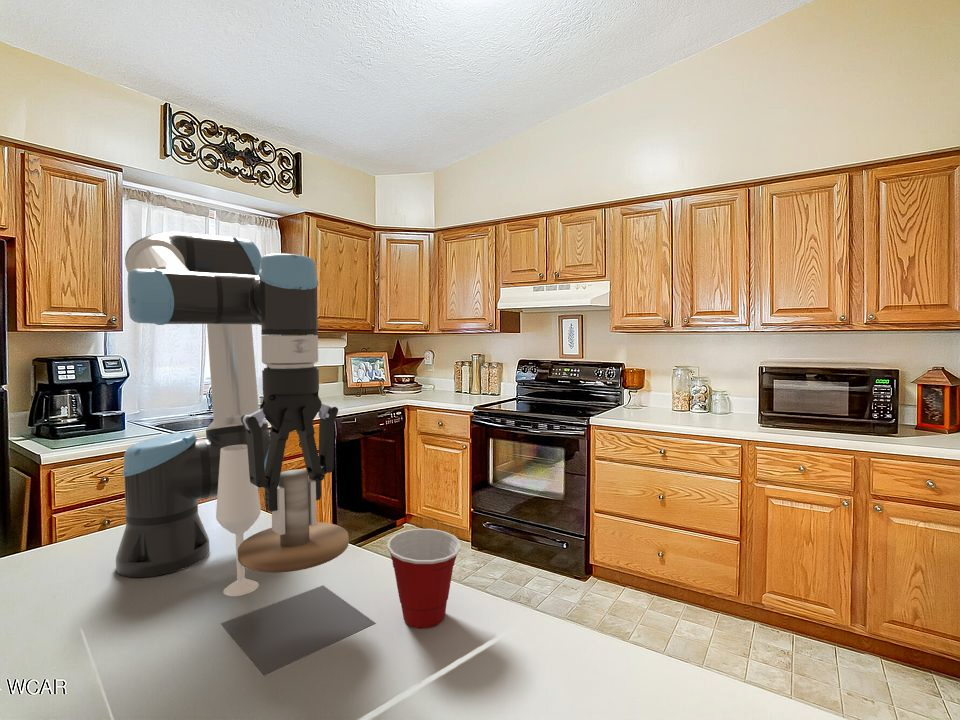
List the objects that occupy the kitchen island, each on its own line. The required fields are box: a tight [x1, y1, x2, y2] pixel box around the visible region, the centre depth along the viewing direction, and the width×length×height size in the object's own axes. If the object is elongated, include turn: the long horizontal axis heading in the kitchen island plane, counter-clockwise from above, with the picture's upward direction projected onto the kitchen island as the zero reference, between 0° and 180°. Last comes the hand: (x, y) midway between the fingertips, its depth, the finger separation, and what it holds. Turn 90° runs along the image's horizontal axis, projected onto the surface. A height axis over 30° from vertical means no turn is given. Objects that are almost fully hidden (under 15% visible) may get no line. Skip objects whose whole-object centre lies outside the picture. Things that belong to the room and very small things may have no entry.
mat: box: [220, 585, 377, 676], centre depth 74 cm, size 16×16×1 cm
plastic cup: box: [386, 528, 462, 630], centre depth 75 cm, size 11×11×12 cm
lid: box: [238, 468, 350, 574], centre depth 74 cm, size 15×15×11 cm
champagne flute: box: [215, 445, 262, 597], centre depth 84 cm, size 7×7×24 cm
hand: (294, 527), depth 74 cm, fingers closed on lid, 4 cm apart
